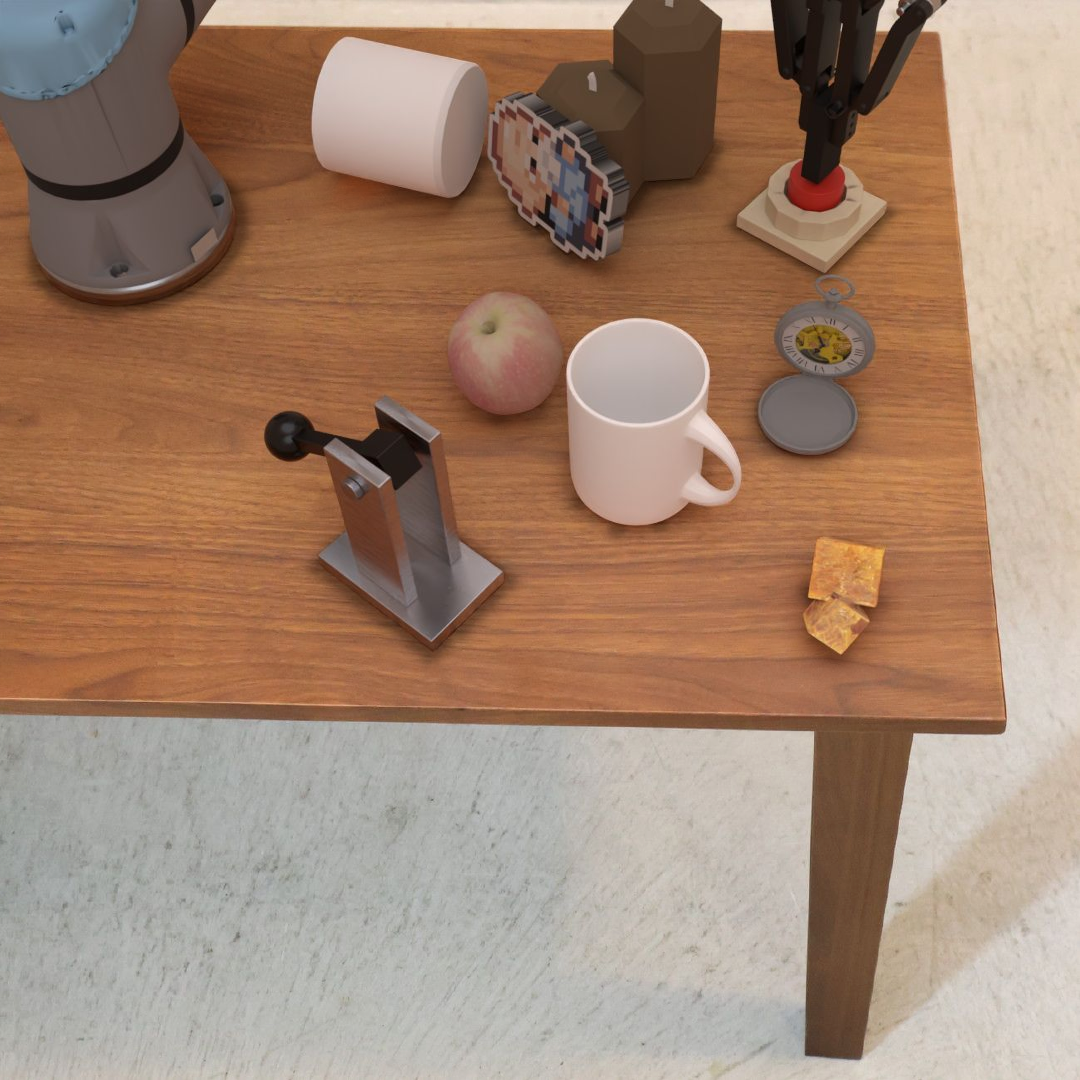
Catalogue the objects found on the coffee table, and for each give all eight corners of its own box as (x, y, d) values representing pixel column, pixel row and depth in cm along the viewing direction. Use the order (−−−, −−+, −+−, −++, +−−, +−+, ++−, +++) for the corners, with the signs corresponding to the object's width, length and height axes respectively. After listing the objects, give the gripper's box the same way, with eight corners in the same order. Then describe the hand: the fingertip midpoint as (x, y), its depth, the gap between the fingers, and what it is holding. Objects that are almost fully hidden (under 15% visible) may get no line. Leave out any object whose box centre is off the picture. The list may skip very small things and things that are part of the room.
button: (776, 196, 103) (778, 178, 101) (807, 167, 104) (810, 149, 103) (821, 220, 101) (824, 202, 100) (852, 190, 103) (856, 172, 101)
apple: (472, 343, 100) (462, 262, 93) (576, 360, 98) (573, 279, 92) (439, 428, 95) (427, 349, 89) (547, 447, 94) (543, 369, 87)
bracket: (320, 565, 90) (277, 431, 78) (392, 500, 92) (360, 361, 81) (433, 651, 86) (405, 524, 74) (504, 581, 88) (488, 447, 77)
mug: (695, 579, 88) (705, 477, 79) (544, 489, 92) (537, 383, 83) (769, 489, 91) (786, 382, 82) (620, 406, 96) (621, 297, 87)
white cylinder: (448, 72, 98) (316, 44, 100) (433, 211, 103) (307, 182, 105) (507, 51, 109) (386, 26, 111) (491, 178, 114) (375, 151, 116)
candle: (702, 90, 114) (713, -81, 101) (723, 205, 106) (738, 36, 94) (536, 101, 114) (526, -68, 101) (544, 218, 106) (535, 51, 94)
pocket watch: (777, 470, 92) (793, 369, 84) (734, 377, 97) (745, 273, 88) (893, 440, 93) (920, 339, 85) (844, 350, 98) (866, 245, 89)
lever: (272, 468, 89) (245, 429, 87) (308, 437, 90) (282, 398, 88) (393, 502, 78) (366, 458, 76) (432, 466, 79) (406, 422, 78)
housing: (735, 226, 105) (738, 196, 103) (797, 169, 108) (801, 138, 106) (824, 274, 102) (829, 243, 99) (885, 213, 105) (891, 183, 103)
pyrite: (867, 651, 86) (801, 636, 87) (889, 545, 85) (822, 532, 86) (864, 661, 81) (793, 646, 82) (887, 549, 80) (816, 535, 81)
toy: (617, 274, 103) (633, 159, 95) (602, 282, 102) (617, 166, 94) (501, 180, 109) (507, 65, 101) (486, 187, 108) (491, 71, 101)
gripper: (999, -137, 80) (925, 179, 100) (811, -207, 86) (776, 107, 105) (929, -76, 77) (867, 238, 97) (738, -152, 83) (716, 160, 102)
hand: (820, 170), depth 101 cm, fingers closed
